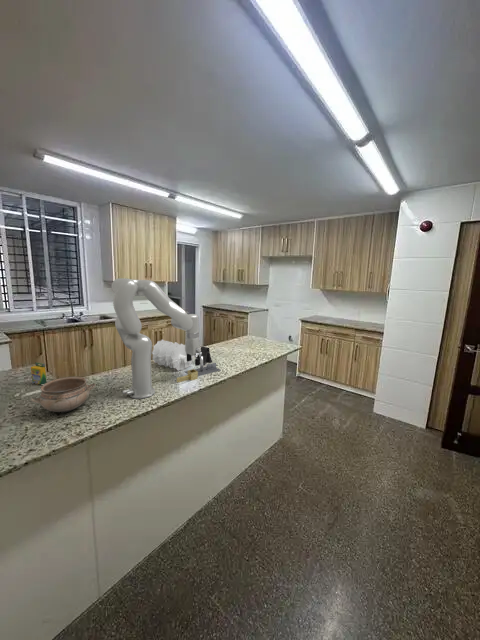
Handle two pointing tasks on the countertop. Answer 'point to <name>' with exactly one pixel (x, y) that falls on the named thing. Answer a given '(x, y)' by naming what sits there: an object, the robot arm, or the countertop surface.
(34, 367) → the crayon box
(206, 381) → the countertop surface
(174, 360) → the spiral staircase
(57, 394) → the cooking pot
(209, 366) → the fixed leaf
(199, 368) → the mat
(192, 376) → the loose leaf
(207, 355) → the phone stand
